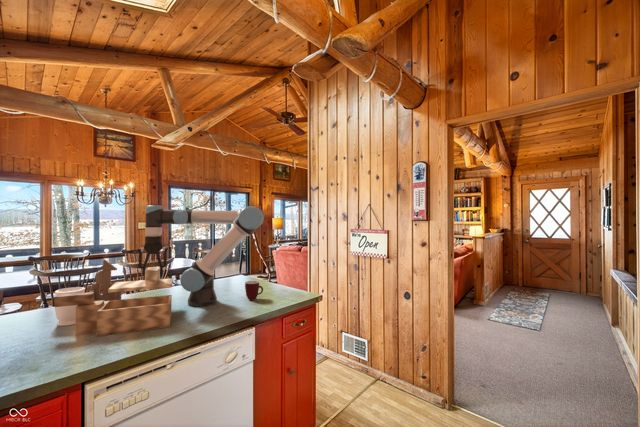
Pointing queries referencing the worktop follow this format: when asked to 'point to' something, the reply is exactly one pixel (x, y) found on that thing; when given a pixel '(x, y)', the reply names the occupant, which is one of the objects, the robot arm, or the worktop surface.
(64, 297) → the wooden block
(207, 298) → the robot arm
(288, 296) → the worktop surface
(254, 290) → the mug
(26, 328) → the worktop surface
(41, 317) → the worktop surface
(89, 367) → the worktop surface
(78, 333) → the toolbox
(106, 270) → the wooden toy
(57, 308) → the jar
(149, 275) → the lid
